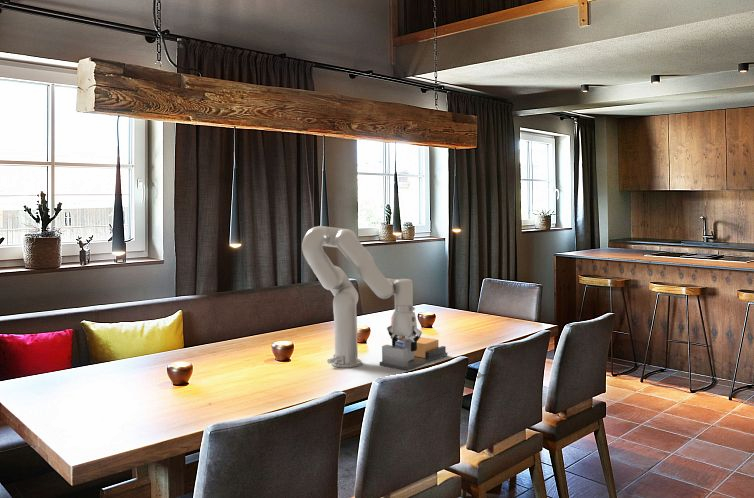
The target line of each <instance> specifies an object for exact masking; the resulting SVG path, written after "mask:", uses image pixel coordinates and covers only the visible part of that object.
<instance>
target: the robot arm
mask: <svg viewBox="0 0 754 498" xmlns="http://www.w3.org/2000/svg"><path fill="white" fill-rule="evenodd" d="M323 247H328V248H329V247H330V248H337V249H338V250H339V251H340V253H341V254H342V255H344V257H345V258H346V259H347V260H348V261H349V263H350V264H351V265H352V266H353V268H354V269H355V270H356V272H357V273H358V275H359V276H360V277H361V279H362V280H363V281H364V282H365V283H366V285H367V286H368V287H369V288H370V290H371V291H372V292H373V293H374V294H375V295H376V296H377V298H379V299H382V300H386V299H389V298H390V297H392V296H394V311H393V315H392V316H393V321H392V325H389V326H388V327H386V330H387V332H388V335H389V337H390V339H391V345H392V346H395V342H396V341H399V339H398V338H397V336H405V338H409V339H411V340H412V342H411V351H412V352H413V351H416V350H417V341H418V339H419V338H420V337H422V334H423V332H422V330H420V329H419V328H418V325H417V318H416V313H415V310H416V308H415V306H414V304H413V303H414V300H413V299H414V297H413V295H414V294H413V293H414V290H413V289H414V288H413V286H414V285H413V280H412V279H411V278H398V279H396V278H389V277H385V275H384V274H383V273H382V272H381V270H379V268H378V266H377V265H376V263H375V260H374V258H373V256H372V255H371V253H370V252H369V251H368V250H367V249H366V247H365V246H364V245H363V244H362V243H361V242H360V240H358V238H357V235H356V233H355V232H354V231H353V230H351V229H350V228H349V229H348V228H341V227H340V228H339V227H334V226H333V227H331V226H323V225H318V226H314V227H311V228H310V229H308V231H307V232H306V233H305V235H304V237H303V239H302V242H301V250H302V254H303V257H304V259H305V261H306V262H307V264H308V265H309V267H310V269H311V270H312V272H313V273H314V275H315V276H316V278H317V279H318V281H319V283H320V284H321V286H322V287H323V288H324V290H327V291H330V292H331V294H332V295H333V300H332V309H333V310H332V311H333V312H332V313H333V328H334V329H333V330H334V354H333V357H331V358H328V359H327V364H329V365H330V364H331V366H333V367H335V368H354V367H358V366H360V365H362V359H360V358H359V355H358V353H359V351H358V318H357V315H358V314H357V304H358V302H359V293H358V290H357V289H356V288H355V286H354V284H353V283H352V281H351V280H350V279H349V277H348V275H347V274H346V273H345V272H344V270H343V269H342V268H341V267H340V266H337V265H334V263H333V262H332V260H331V259H330V257H329V256H328V255H327V253H326V252H325V250H324V248H323Z"/></svg>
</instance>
